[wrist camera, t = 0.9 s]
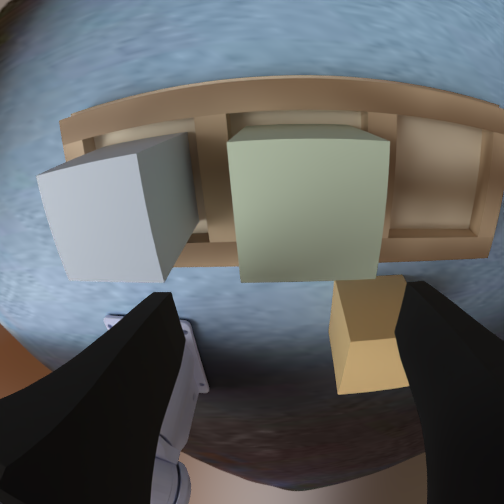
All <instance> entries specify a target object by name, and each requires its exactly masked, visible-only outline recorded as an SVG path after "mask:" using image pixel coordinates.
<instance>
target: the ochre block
mask: <svg viewBox="0 0 504 504" xmlns="http://www.w3.org/2000/svg"><path fill="white" fill-rule="evenodd" d="M406 284H407V282H406V281H405V279H404V277H403V275H386V276H376V279H361V280H335V281H334V289H333V298H332V307H331V316H330V324H329V337H330V344H331V350H332V356H333V363H334V370H335V377H336V384H337V392H338V395H340V394H352V393H362V392H371V391H379V390H386V389H393V388H400V387H406V386H409V383H408V380H407V377H406V374H405V371H404V368H403V365H402V362H401V359H400V355H399V351H398V347H397V342H396V337H395V333H394V331H395V327H396V324H397V320H398V316H399V313H400V309H401V305H402V301H403V297H404V292H405V288H406Z"/></svg>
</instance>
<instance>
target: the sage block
mask: <svg viewBox="0 0 504 504" xmlns="http://www.w3.org/2000/svg"><path fill="white" fill-rule="evenodd" d="M227 152H228V163H229V173H230V183H231V193H232V203H233V213H234V223H235V232H236V242H237V251H238V261H239V270H240V279H241V283H255V282H303V281H335V280H361V279H376V274H377V268H378V262H379V256H380V249H381V242H382V235H383V227H384V218H385V209H386V199H387V187H388V174H389V156H390V141H388V140H386V139H383V138H381V137H378V136H376V135H373V134H371V133H368V132H366V131H363V130H360V129H358V128H355V127H352V126H350V125H346V124H275V125H255V126H246V127H244V128H243V129H242V130H241V131H239V132H238V133H237V134H236V135H235V136H233V137H232V138H231V139H230V140H229V141H227Z"/></svg>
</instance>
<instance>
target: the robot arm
mask: <svg viewBox="0 0 504 504" xmlns="http://www.w3.org/2000/svg"><path fill="white" fill-rule="evenodd" d="M104 323H105V325H106V327H107V329H108V331H107V332H106V333H104V334H103V335H102V336H101V337H99V338H98V339H97V340H96V341H94V342H93V343H92V344H91V345H89V346H88V347H87V348H86V349H85V350H83V351H82V352H81V353H79V354H78V355H77V356H75V357H74V358H73V359H71V360H70V361H68V362H67V363H65V364H64V365H62V366H61V367H60V368H58V369H57V370H55V371H53V372H52V373H50V374H49V375H47V376H45V377H43V378H42V379H40V380H38V381H37V382H35V383H33V384H31V385H30V386H28V387H26V388H24V389H22V390H20V391H18V392H15V393H13V394H11V395H9V396H7V397H4V398H2V399H0V504H188V503H189V499H190V494H191V483H190V477H189V475H188V472H187V469H186V467H185V465H184V464H183V463H181V462H179V461H178V460H179V455H180V451H181V450H182V449H183V447H184V446H185V444H186V442H187V440H188V436H189V432H190V428H191V423H192V419H193V415H194V411H195V407H196V402H197V398H198V394H199V393H208V392H209V385H208V382H207V379H206V375H205V372H204V369H203V366H202V362H201V359H200V355H199V352H198V349H197V345H196V341H195V338H194V334H193V331H192V327H191V324H190V323H189V322H188V321H186V320H179V316H178V313H177V310H176V307H175V303H174V300H173V297H172V293H171V292H153V293H152V294H151V295H149V296H148V297H147V298H145V299H144V300H143V301H142V302H141V303H139V304H138V305H137V306H136V307H135V308H133V309H132V310H131V311H130V312H129V313H128V314H127V315H125V316H124V317H123V316H111V315H106V316H105V318H104ZM184 330H186V331H184ZM394 333H395V337H396V342H397V347H398V351H399V355H400V359H401V362H402V365H403V368H404V371H405V374H406V377H407V380H408V383H409V385H410V388H411V391H412V394H413V397H414V401H415V404H416V407H417V410H418V413H419V417H420V421H421V425H422V431H423V437H424V444H425V452H426V464H427V490H428V491H427V504H504V341H503V340H501V339H500V338H498V337H497V336H496V335H494V334H493V333H492V332H490V331H489V330H488V329H486V328H485V327H484V326H482V325H481V324H480V323H478V322H477V321H476V320H475V319H473V318H472V317H471V316H469V315H468V314H467V313H466V312H464V311H463V310H462V309H461V308H459V307H458V306H457V305H456V304H454V303H453V302H452V301H451V300H449V299H448V298H447V297H445V296H444V295H443V294H441V293H440V292H439V291H437V290H436V289H435V288H433V287H432V286H431V285H429V284H428V283H426V282H424V281H418V282H407V284H406V288H405V292H404V297H403V301H402V305H401V309H400V313H399V316H398V320H397V324H396V327H395V331H394Z"/></svg>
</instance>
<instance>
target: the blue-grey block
mask: <svg viewBox="0 0 504 504" xmlns="http://www.w3.org/2000/svg"><path fill="white" fill-rule="evenodd" d="M36 178H37V182H38V186H39V190H40V194H41V198H42V202H43V205H44V209H45V212H46V216H47V219H48V223H49V226H50V229H51V232H52V235H53V238H54V241H55V244H56V247H57V250H58V253H59V255H60V258H61V261H62V263H63V266H64V269H65V271H66V274H67V276H68V279H69V281H98V282H144V283H164V282H165V280H166V279H167V277H168V275H169V273H170V271H171V270H172V268H173V266H174V264H175V262H176V261H177V259H178V257H179V255H180V254H181V252H182V250H183V248H184V247H185V245H186V243H187V241H188V240H189V238H190V236H191V234H192V233H193V231H194V229H195V228H196V226H197V224H198V223H199V215H198V208H197V201H196V194H195V187H194V180H193V173H192V165H191V157H190V149H189V141H188V132H182V133H175V134H168V135H162V136H156V137H150V138H144V139H138V140H133V141H128V142H123V143H118V144H113V145H109V146H105V147H102V148H99V149H97V150H94V151H92V152H89V153H87V154H84V155H82V156H79V157H77V158H75V159H72V160H70V161H68V162H65V163H63V164H61V165H58V166H56V167H54V168H52V169H50V170H48V171H45V172H43V173H41V174H39V175H37V176H36Z"/></svg>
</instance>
